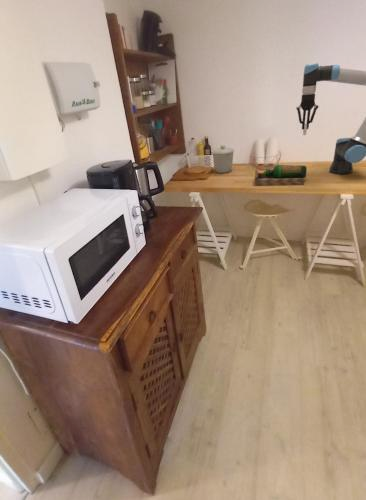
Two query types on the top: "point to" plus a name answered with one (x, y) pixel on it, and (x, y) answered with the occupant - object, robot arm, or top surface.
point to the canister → (223, 159)
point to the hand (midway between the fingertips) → (304, 134)
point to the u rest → (275, 180)
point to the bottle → (286, 171)
